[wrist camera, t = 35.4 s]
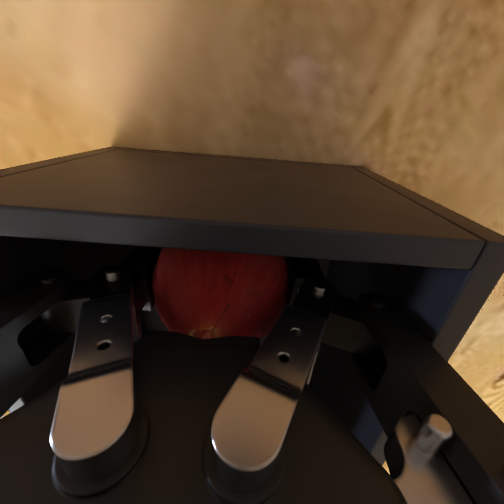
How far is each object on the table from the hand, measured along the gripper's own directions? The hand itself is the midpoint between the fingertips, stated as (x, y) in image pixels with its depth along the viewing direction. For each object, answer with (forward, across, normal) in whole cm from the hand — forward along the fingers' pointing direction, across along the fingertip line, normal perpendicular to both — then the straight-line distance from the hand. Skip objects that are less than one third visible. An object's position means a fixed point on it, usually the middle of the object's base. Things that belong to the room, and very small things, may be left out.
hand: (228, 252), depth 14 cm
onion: (+1, 0, 0) cm, 1 cm away
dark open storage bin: (+4, 0, +5) cm, 6 cm away
